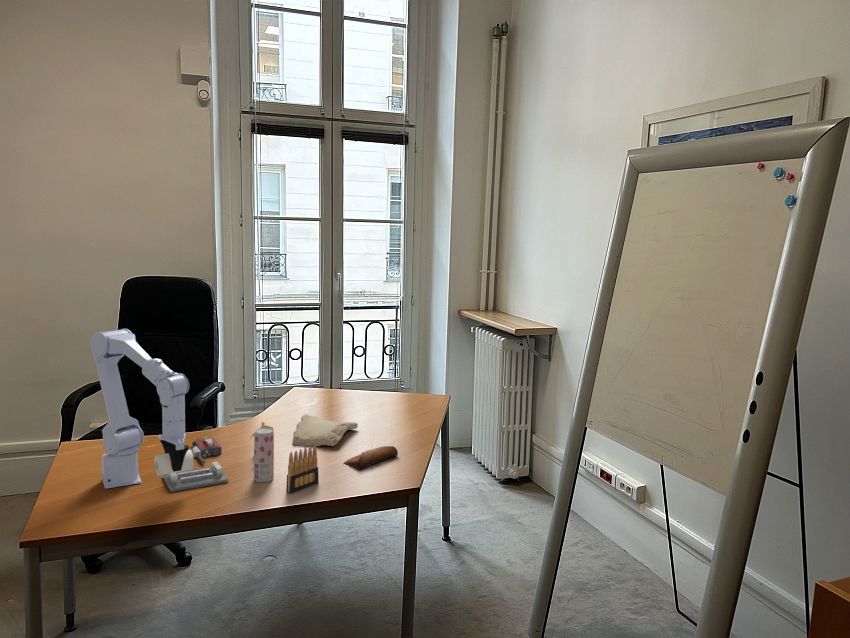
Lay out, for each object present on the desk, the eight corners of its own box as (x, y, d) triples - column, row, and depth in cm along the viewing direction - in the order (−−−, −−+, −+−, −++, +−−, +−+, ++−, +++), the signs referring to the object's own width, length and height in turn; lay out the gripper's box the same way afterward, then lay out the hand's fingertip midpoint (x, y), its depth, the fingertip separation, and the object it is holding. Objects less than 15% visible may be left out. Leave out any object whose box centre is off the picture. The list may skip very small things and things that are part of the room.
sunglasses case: (379, 450, 217) (387, 436, 214) (392, 464, 214) (400, 451, 211) (341, 463, 203) (348, 449, 200) (354, 479, 200) (362, 465, 197)
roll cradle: (170, 492, 177) (170, 480, 176) (162, 477, 187) (162, 466, 186) (228, 482, 185) (228, 471, 185) (217, 468, 195) (217, 457, 195)
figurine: (268, 451, 211) (268, 417, 210) (277, 456, 207) (278, 421, 206) (245, 457, 206) (245, 421, 204) (255, 462, 201) (255, 426, 200)
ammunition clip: (290, 494, 179) (290, 453, 177) (286, 492, 180) (286, 451, 178) (318, 483, 187) (319, 444, 186) (314, 481, 188) (315, 442, 187)
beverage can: (276, 475, 191) (276, 428, 189) (270, 483, 186) (270, 434, 184) (257, 474, 192) (257, 427, 190) (251, 482, 186) (251, 433, 184)
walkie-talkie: (186, 447, 213) (200, 467, 197) (185, 435, 213) (200, 453, 196) (212, 443, 218) (228, 462, 201) (212, 431, 217) (228, 449, 201)
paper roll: (158, 478, 169) (158, 458, 168) (154, 471, 173) (154, 452, 173) (194, 472, 174) (193, 453, 173) (189, 465, 178) (188, 447, 178)
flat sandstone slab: (283, 446, 220) (336, 448, 215) (281, 425, 219) (335, 426, 214) (311, 428, 243) (360, 430, 239) (310, 409, 243) (359, 410, 238)
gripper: (152, 414, 175) (153, 460, 177) (164, 428, 163) (164, 478, 165) (178, 410, 179) (179, 456, 181) (192, 425, 167) (192, 473, 169)
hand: (174, 467), depth 173 cm, fingers closed on paper roll, 5 cm apart
